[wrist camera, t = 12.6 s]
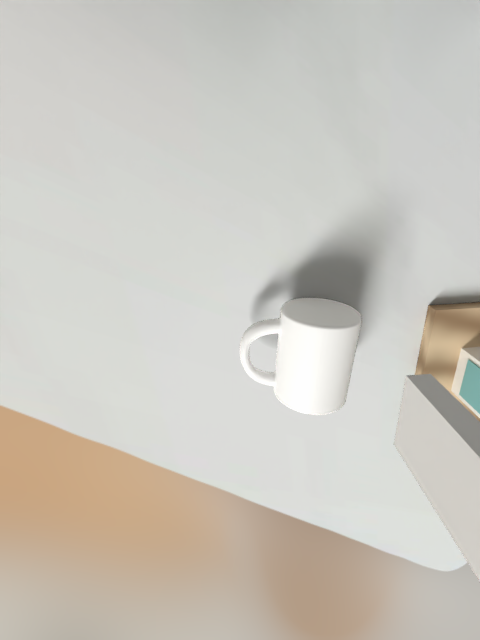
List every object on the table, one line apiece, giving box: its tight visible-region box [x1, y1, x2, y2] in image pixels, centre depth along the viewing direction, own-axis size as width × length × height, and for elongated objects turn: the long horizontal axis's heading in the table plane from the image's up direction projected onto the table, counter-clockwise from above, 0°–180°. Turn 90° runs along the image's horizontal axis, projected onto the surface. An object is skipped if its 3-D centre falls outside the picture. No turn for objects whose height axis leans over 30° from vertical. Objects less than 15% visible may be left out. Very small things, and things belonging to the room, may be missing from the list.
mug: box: [240, 298, 362, 415], centre depth 36 cm, size 12×10×8 cm
